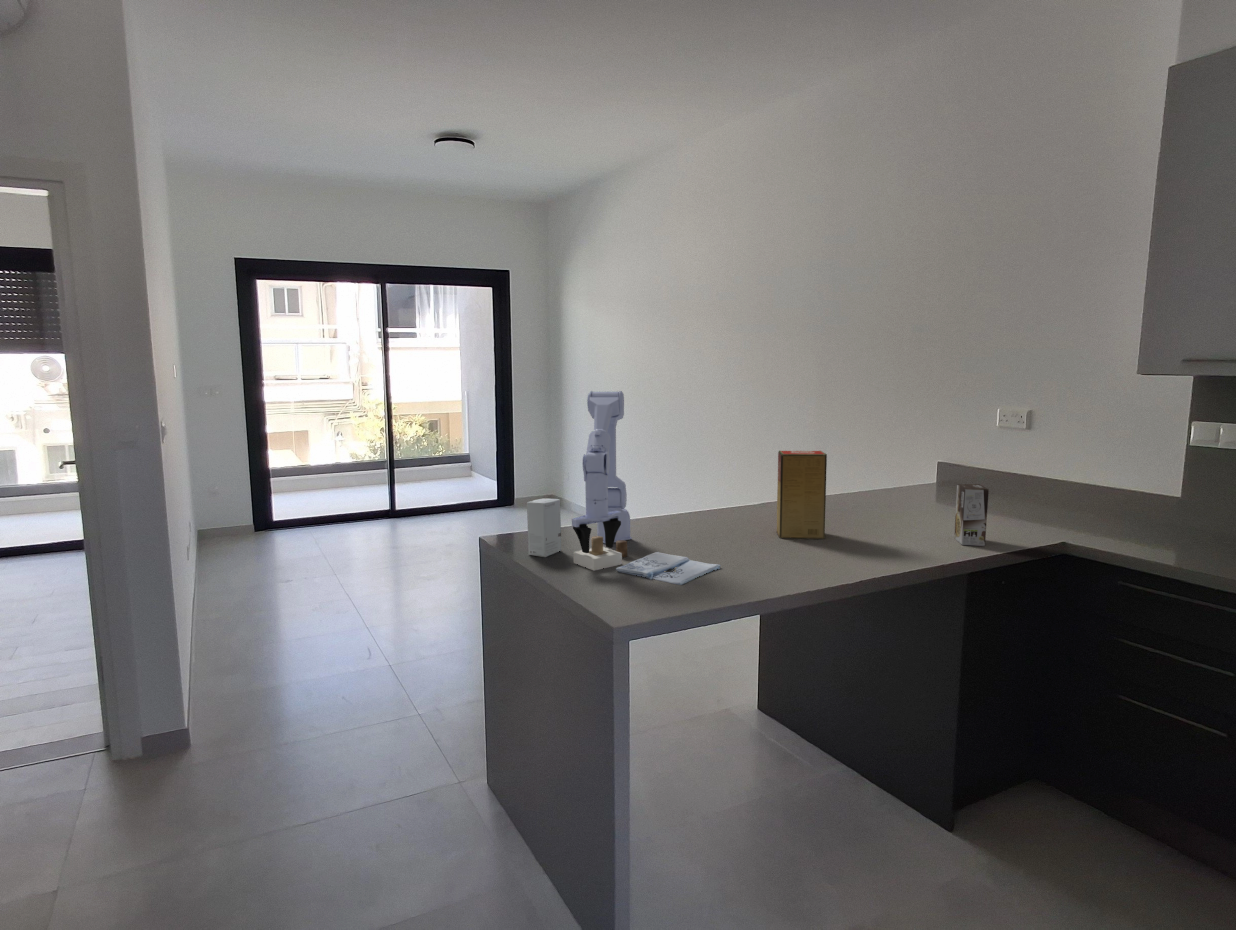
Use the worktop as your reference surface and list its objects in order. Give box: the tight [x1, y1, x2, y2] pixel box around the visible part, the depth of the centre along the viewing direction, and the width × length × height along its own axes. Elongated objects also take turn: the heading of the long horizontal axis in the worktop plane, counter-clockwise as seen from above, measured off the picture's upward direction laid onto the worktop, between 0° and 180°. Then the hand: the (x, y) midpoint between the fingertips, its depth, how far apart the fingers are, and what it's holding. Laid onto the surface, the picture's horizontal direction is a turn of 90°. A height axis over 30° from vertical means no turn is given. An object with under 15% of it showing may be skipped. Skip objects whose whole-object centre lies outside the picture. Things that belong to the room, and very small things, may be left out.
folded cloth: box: [615, 551, 721, 586], centre depth 186 cm, size 19×20×2 cm
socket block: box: [573, 546, 623, 572], centre depth 192 cm, size 9×9×3 cm
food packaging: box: [775, 450, 828, 540], centre depth 219 cm, size 13×9×25 cm
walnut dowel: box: [615, 540, 628, 558], centre depth 200 cm, size 3×3×4 cm
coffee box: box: [953, 483, 990, 547], centre depth 209 cm, size 9×6×16 cm
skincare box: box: [526, 497, 562, 558], centre depth 203 cm, size 8×6×15 cm
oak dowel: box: [590, 535, 604, 556], centre depth 192 cm, size 3×3×7 cm
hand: (597, 549), depth 192 cm, fingers open, 7 cm apart
